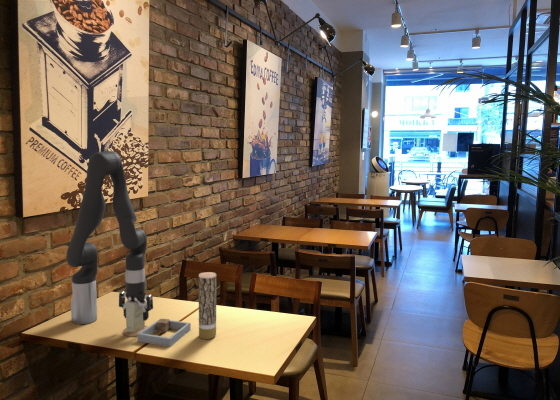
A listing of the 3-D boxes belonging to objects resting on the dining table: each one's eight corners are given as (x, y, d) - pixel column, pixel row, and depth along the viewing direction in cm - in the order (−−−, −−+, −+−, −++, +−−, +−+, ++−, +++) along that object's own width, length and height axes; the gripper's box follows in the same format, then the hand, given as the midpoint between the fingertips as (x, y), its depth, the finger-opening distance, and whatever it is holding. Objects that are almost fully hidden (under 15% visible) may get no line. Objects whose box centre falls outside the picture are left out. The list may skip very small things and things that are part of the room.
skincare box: (134, 333, 175) (134, 303, 173) (125, 331, 177) (125, 302, 175) (145, 327, 181) (144, 298, 179) (136, 325, 182) (136, 297, 181)
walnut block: (156, 332, 178) (156, 322, 178) (160, 328, 182) (160, 318, 182) (166, 332, 178) (166, 323, 178) (169, 328, 182) (169, 319, 182)
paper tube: (201, 340, 171) (201, 277, 168) (196, 334, 177) (196, 273, 174) (218, 337, 174) (218, 275, 171) (212, 331, 180) (213, 271, 177)
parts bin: (137, 341, 169) (137, 333, 169) (160, 325, 184) (160, 318, 184) (170, 346, 165) (170, 338, 165) (190, 330, 181) (190, 323, 180)
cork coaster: (117, 334, 175) (117, 333, 175) (133, 325, 185) (133, 323, 185) (140, 337, 172) (139, 336, 172) (154, 328, 182) (154, 326, 182)
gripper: (114, 280, 174) (115, 320, 176) (145, 284, 170) (146, 324, 172) (125, 275, 182) (126, 313, 183) (156, 278, 178) (156, 317, 180)
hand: (136, 318), depth 178 cm, fingers open, 8 cm apart
